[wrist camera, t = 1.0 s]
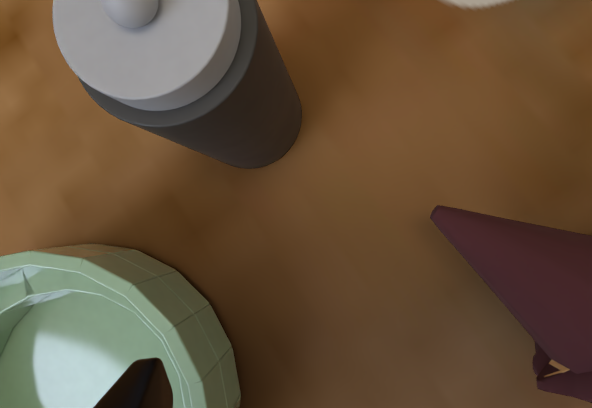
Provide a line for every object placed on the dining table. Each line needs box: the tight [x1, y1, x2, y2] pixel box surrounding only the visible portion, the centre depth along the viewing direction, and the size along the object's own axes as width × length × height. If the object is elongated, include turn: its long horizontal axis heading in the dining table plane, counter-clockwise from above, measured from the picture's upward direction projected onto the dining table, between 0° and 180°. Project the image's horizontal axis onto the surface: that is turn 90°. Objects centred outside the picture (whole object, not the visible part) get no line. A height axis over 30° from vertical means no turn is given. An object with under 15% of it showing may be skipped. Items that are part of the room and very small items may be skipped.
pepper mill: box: [53, 0, 302, 169], centre depth 16 cm, size 5×5×13 cm
